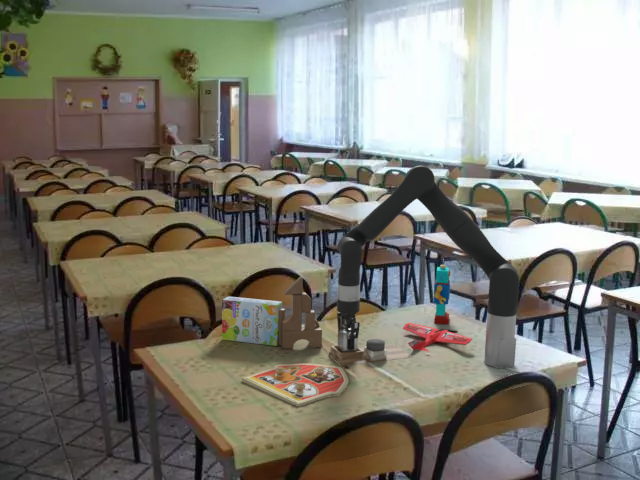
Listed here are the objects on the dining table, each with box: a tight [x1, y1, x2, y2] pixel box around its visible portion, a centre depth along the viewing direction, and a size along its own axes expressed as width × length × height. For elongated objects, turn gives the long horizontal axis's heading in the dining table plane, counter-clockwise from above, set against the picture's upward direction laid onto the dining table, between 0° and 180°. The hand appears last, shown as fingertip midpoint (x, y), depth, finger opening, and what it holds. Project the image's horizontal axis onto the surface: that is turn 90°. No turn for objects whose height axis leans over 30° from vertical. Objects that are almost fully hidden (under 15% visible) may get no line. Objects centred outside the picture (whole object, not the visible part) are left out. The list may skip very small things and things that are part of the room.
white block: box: [337, 328, 359, 352], centre depth 248 cm, size 5×5×6 cm
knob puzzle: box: [241, 362, 349, 407], centre depth 228 cm, size 29×30×4 cm
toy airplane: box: [402, 322, 473, 352], centre depth 262 cm, size 27×27×5 cm
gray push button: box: [365, 338, 386, 351], centre depth 247 cm, size 6×6×5 cm
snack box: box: [221, 296, 283, 347], centre depth 264 cm, size 21×6×15 cm, turn 73°
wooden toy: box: [277, 275, 323, 350], centre depth 259 cm, size 16×7×25 cm, turn 100°
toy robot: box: [433, 258, 451, 325], centre depth 291 cm, size 12×6×25 cm, turn 168°
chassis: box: [328, 343, 413, 370], centre depth 250 cm, size 14×24×4 cm, turn 111°
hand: (347, 346), depth 248 cm, fingers closed on white block, 5 cm apart
